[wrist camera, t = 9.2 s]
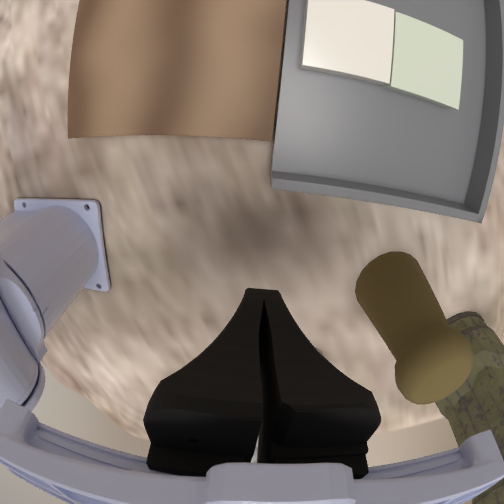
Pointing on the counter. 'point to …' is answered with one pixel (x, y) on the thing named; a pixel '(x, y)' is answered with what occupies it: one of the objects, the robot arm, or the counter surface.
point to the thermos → (479, 393)
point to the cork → (414, 328)
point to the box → (395, 122)
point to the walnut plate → (175, 68)
